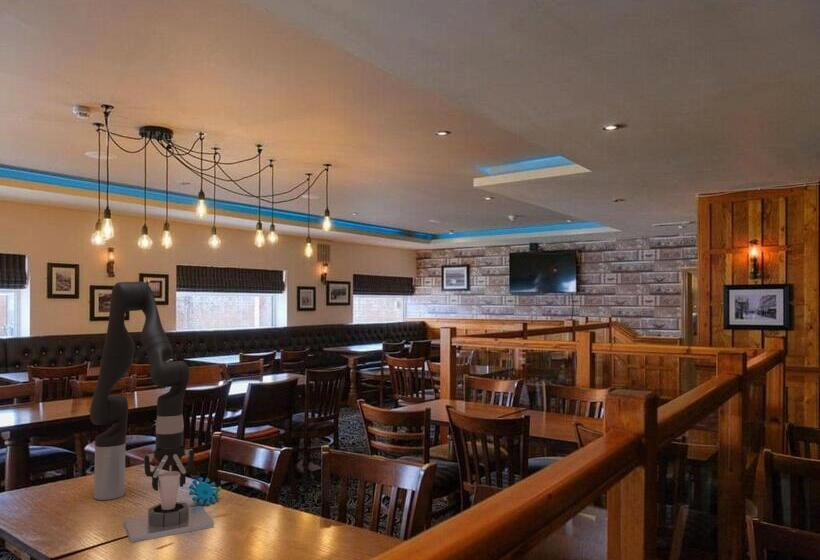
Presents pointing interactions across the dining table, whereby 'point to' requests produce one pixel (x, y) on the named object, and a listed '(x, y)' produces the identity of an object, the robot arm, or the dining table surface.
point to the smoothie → (168, 488)
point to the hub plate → (167, 522)
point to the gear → (204, 491)
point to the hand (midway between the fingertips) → (168, 487)
